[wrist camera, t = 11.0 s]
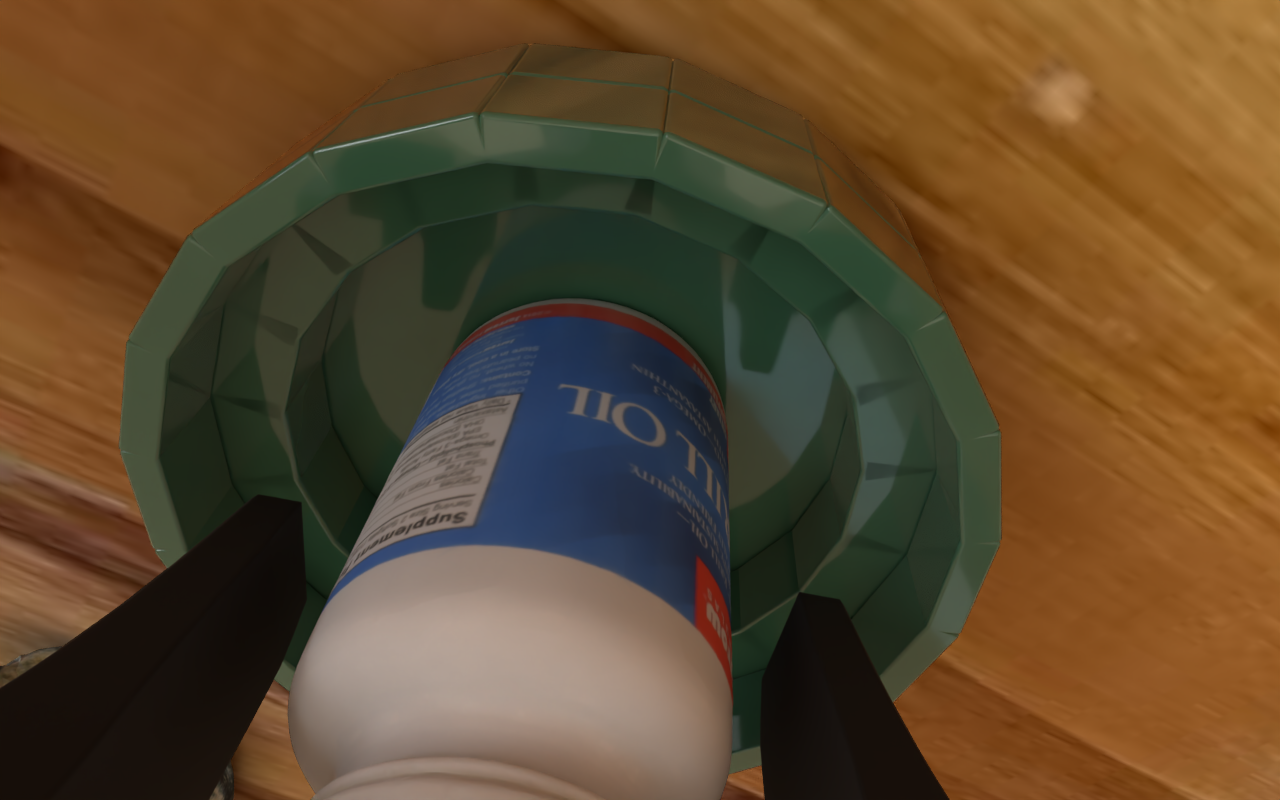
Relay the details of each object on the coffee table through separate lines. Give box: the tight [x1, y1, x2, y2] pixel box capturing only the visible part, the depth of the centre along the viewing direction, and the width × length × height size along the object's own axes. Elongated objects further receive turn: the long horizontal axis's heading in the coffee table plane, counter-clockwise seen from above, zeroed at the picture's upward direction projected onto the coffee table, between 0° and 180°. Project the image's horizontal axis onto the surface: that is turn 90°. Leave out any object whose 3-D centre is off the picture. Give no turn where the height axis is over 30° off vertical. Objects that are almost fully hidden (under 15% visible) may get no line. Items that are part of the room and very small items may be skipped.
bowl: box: [119, 43, 1002, 775], centre depth 15 cm, size 13×13×4 cm
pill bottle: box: [288, 298, 733, 800], centre depth 12 cm, size 6×5×10 cm
